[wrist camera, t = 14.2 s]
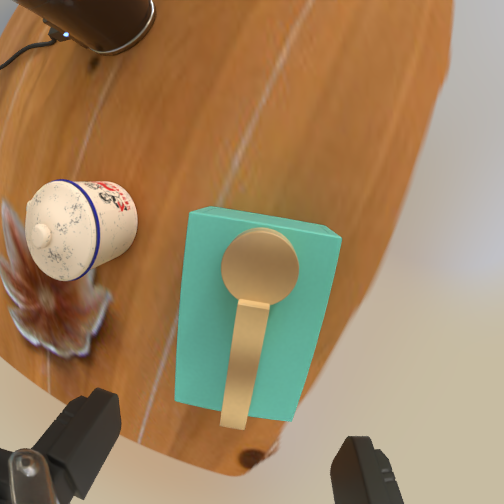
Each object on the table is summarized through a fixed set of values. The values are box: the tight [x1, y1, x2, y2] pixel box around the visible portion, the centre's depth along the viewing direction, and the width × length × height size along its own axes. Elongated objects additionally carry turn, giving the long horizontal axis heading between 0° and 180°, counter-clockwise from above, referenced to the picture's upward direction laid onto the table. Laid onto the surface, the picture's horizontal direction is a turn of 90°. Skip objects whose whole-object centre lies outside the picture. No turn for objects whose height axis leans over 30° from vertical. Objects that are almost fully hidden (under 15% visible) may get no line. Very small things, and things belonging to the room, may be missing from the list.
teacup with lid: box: [25, 179, 138, 281], centre depth 25 cm, size 12×9×12 cm
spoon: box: [220, 227, 299, 430], centre depth 22 cm, size 17×5×3 cm, turn 171°
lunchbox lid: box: [175, 211, 342, 422], centre depth 24 cm, size 18×12×1 cm, turn 171°
